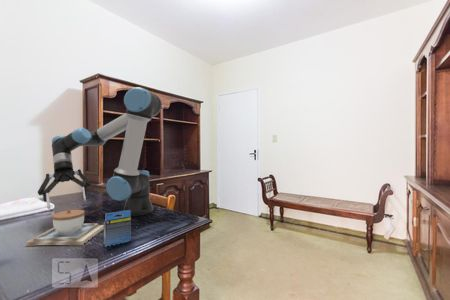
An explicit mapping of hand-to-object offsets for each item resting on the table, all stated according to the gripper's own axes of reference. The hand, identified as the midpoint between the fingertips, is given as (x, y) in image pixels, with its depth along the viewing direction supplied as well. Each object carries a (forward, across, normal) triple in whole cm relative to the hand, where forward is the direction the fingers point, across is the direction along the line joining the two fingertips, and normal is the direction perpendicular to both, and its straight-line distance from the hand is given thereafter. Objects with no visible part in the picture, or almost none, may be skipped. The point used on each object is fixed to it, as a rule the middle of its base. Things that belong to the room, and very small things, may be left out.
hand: (67, 204), depth 103 cm
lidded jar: (+15, 0, +6) cm, 16 cm away
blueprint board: (+16, 0, +5) cm, 17 cm away
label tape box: (+28, -15, +18) cm, 37 cm away
